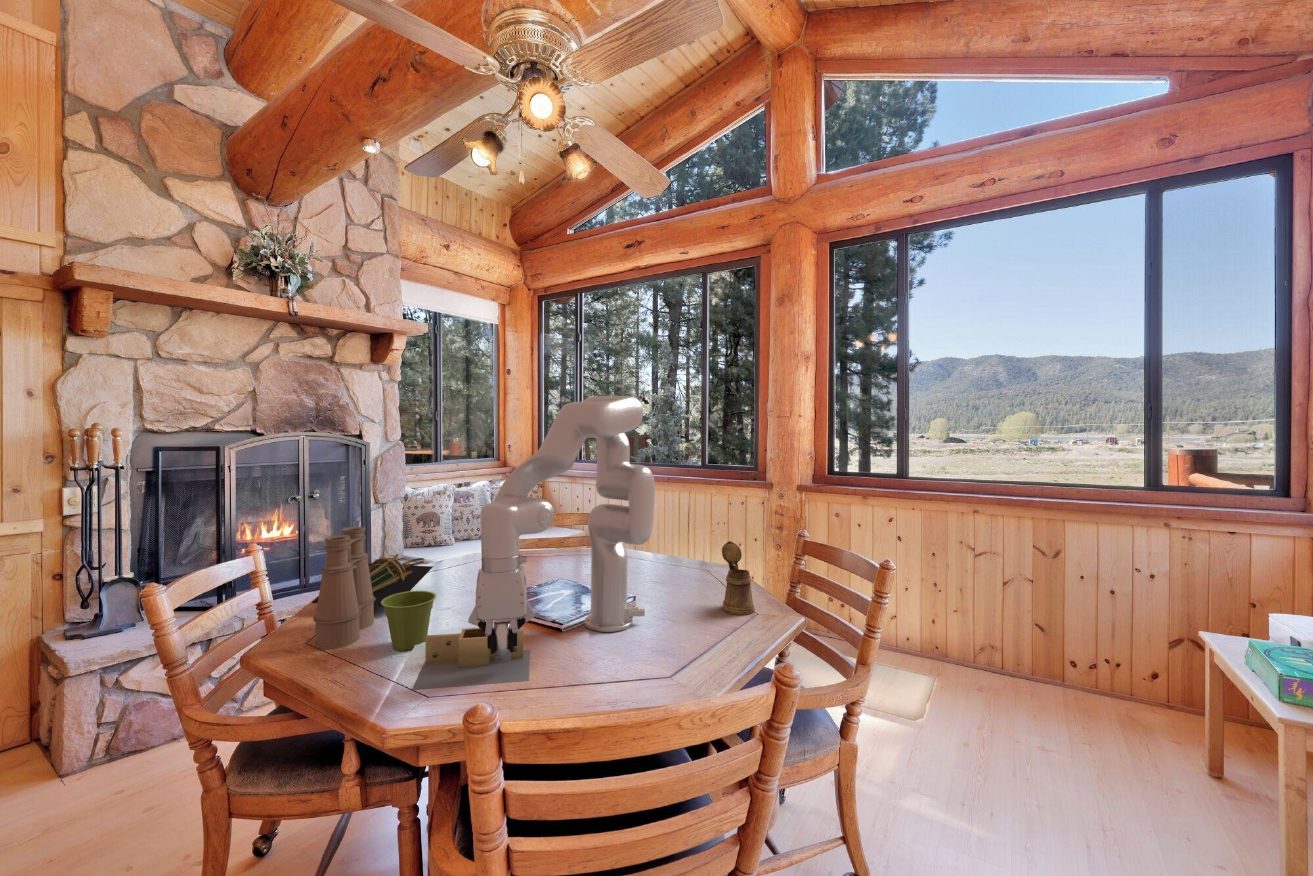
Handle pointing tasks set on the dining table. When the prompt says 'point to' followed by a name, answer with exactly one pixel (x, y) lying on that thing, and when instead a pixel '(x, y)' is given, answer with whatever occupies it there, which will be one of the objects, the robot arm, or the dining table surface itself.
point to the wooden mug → (737, 583)
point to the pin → (502, 640)
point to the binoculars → (344, 591)
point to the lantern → (393, 577)
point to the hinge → (465, 648)
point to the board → (473, 674)
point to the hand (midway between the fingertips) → (502, 649)
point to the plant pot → (408, 617)
